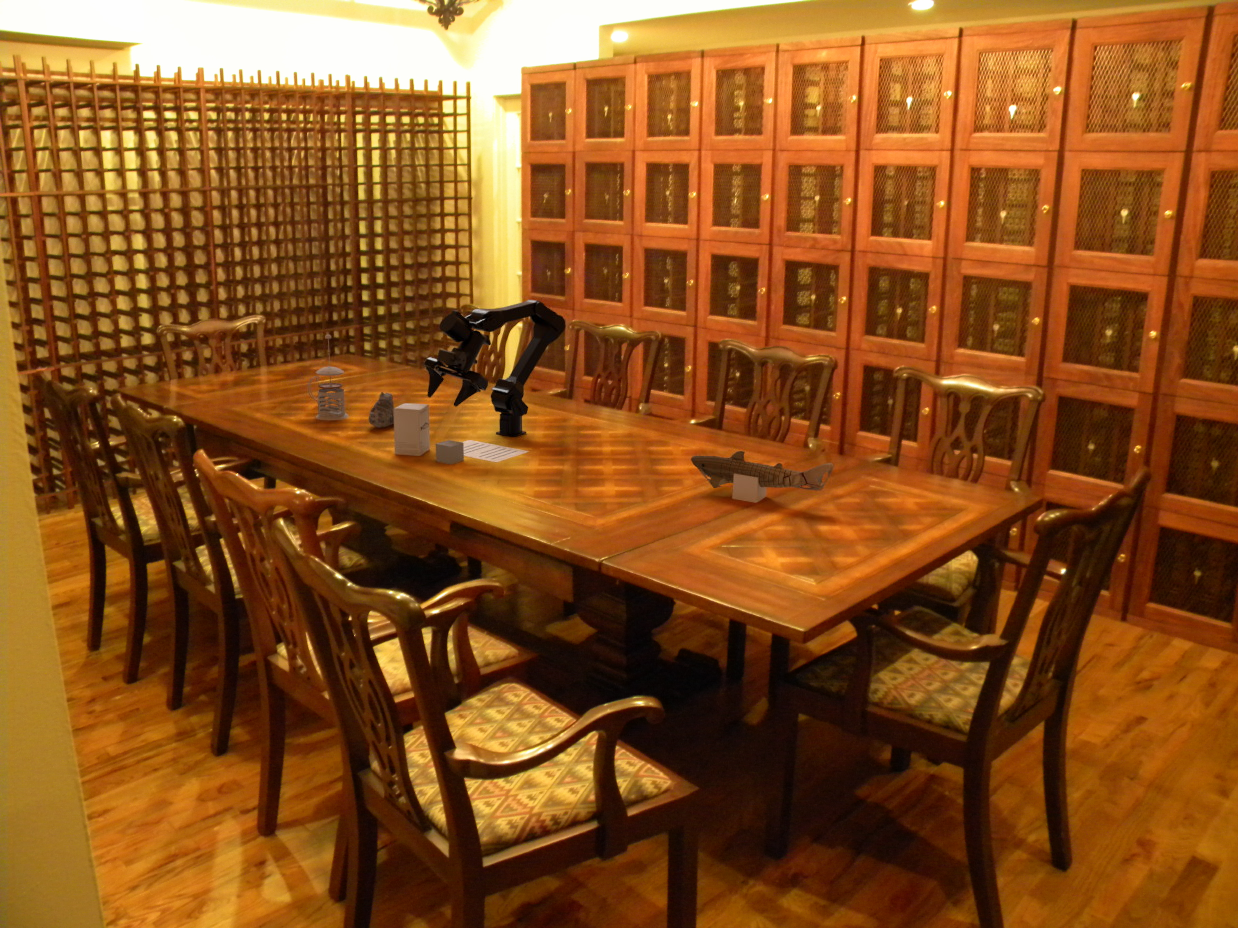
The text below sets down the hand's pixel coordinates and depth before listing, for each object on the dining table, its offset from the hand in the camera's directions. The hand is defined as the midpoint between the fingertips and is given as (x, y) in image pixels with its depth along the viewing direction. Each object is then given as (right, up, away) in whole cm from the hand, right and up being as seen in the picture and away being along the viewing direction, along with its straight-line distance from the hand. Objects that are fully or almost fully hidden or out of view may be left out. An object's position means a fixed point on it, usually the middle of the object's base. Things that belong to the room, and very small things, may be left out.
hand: (441, 401), depth 285 cm
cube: (+4, -16, -9) cm, 19 cm away
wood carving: (+80, -25, -35) cm, 91 cm away
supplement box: (-8, -14, -1) cm, 16 cm away
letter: (+11, -13, +1) cm, 17 cm away
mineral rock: (-22, -6, +27) cm, 36 cm away
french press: (-40, -3, +37) cm, 55 cm away
